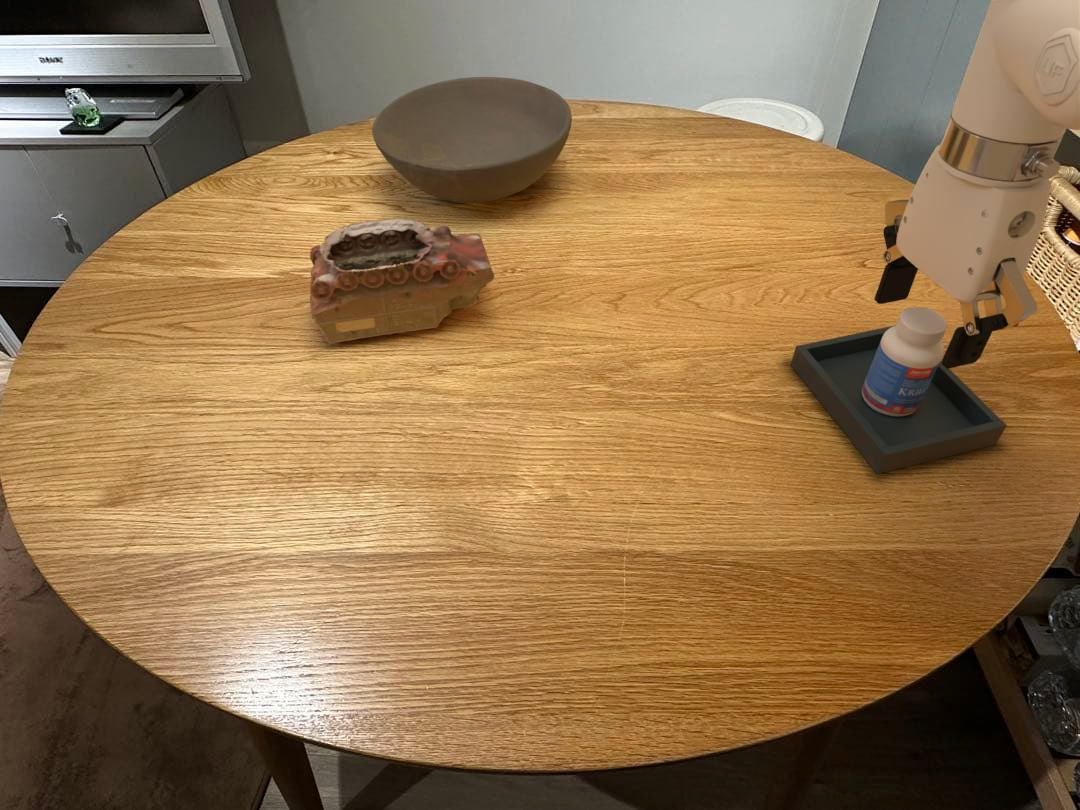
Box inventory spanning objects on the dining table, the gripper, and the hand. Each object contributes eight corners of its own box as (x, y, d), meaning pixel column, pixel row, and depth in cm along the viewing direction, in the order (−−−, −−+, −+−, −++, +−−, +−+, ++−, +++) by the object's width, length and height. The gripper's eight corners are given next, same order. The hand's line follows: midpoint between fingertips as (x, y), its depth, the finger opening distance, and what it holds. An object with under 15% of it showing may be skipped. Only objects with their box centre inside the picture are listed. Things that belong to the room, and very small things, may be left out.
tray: (995, 444, 72) (1007, 425, 70) (877, 474, 69) (885, 455, 67) (896, 342, 82) (903, 323, 81) (790, 364, 80) (795, 345, 78)
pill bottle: (891, 426, 73) (926, 346, 66) (848, 392, 76) (877, 313, 69) (931, 405, 75) (969, 326, 68) (887, 373, 78) (919, 295, 71)
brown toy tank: (323, 281, 92) (305, 209, 85) (491, 270, 93) (486, 197, 86) (312, 353, 82) (291, 277, 76) (498, 338, 84) (494, 263, 77)
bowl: (593, 218, 101) (596, 146, 94) (391, 246, 97) (379, 172, 90) (546, 133, 120) (545, 67, 113) (375, 153, 115) (363, 86, 108)
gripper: (1133, 192, 52) (1027, 383, 63) (962, 97, 64) (900, 272, 76) (1040, 209, 50) (949, 401, 62) (883, 109, 63) (832, 285, 74)
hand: (922, 330), depth 69 cm, fingers open, 9 cm apart
